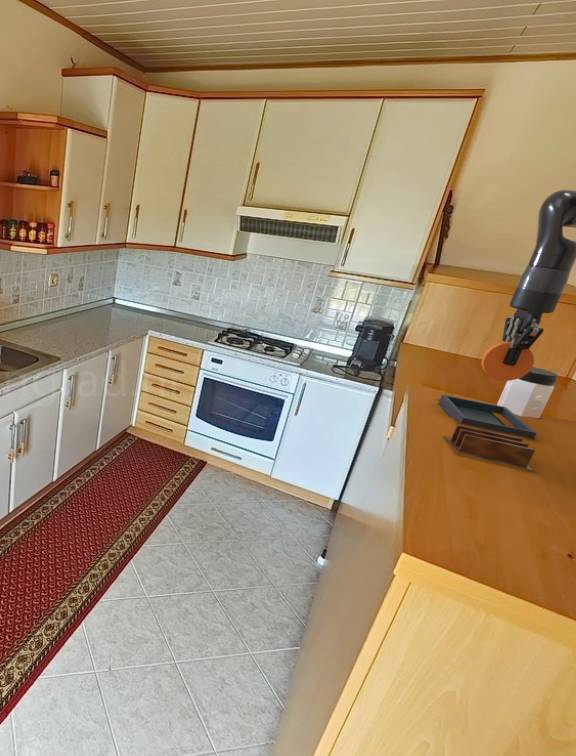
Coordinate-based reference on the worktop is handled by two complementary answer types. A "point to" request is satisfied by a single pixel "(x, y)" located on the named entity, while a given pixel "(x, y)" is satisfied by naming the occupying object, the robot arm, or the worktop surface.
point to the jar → (528, 393)
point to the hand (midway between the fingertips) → (506, 363)
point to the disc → (498, 369)
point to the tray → (484, 416)
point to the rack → (491, 446)
